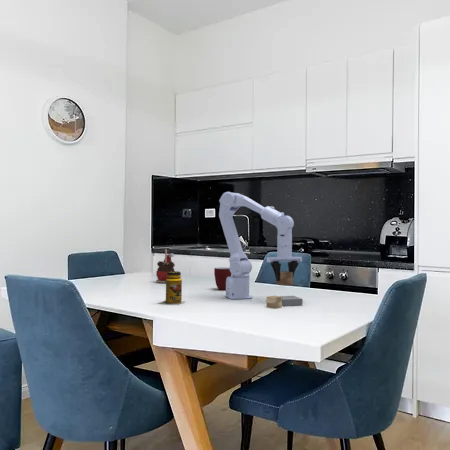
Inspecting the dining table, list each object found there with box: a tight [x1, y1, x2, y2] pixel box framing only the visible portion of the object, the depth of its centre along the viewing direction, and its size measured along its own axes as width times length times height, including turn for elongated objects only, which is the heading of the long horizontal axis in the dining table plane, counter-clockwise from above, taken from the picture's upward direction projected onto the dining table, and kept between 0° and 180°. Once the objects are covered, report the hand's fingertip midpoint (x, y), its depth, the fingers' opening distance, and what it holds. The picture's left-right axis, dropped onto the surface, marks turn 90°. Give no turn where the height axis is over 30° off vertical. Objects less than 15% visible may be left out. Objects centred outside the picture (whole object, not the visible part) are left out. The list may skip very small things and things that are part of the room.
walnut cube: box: [275, 270, 294, 286], centre depth 186 cm, size 5×5×5 cm
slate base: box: [278, 295, 303, 307], centre depth 180 cm, size 8×8×2 cm
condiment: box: [159, 270, 185, 306], centre depth 180 cm, size 7×8×12 cm
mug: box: [213, 266, 232, 291], centre depth 218 cm, size 10×8×10 cm
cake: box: [155, 247, 175, 284], centre depth 241 cm, size 11×9×18 cm
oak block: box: [266, 295, 283, 310], centre depth 173 cm, size 4×4×4 cm
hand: (284, 280), depth 186 cm, fingers closed on walnut cube, 5 cm apart
